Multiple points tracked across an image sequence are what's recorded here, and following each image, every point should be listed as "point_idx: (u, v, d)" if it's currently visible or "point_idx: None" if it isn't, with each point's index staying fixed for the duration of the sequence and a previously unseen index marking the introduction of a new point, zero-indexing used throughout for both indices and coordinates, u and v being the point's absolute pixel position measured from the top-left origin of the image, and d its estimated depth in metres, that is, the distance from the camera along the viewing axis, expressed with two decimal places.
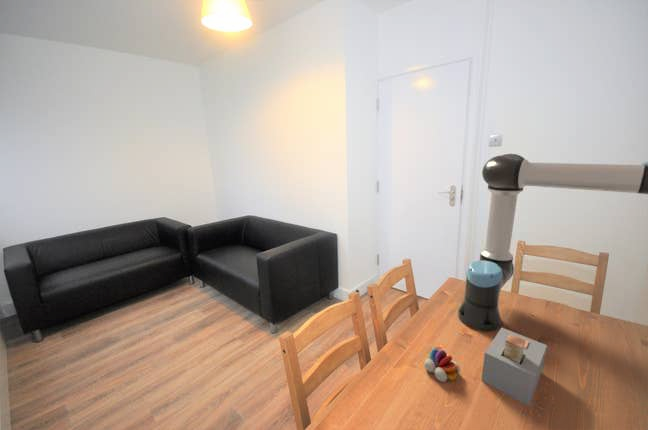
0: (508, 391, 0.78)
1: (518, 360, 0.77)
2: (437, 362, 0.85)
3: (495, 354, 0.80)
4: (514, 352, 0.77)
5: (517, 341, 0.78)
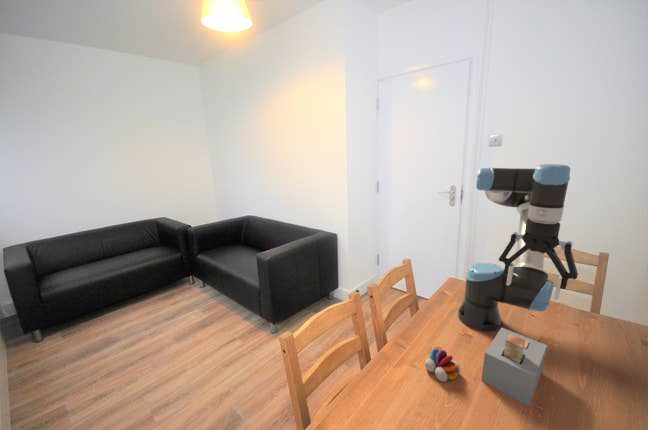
0: (508, 391, 0.78)
1: (518, 360, 0.77)
2: (437, 362, 0.85)
3: (495, 354, 0.80)
4: (514, 352, 0.77)
5: (517, 341, 0.78)
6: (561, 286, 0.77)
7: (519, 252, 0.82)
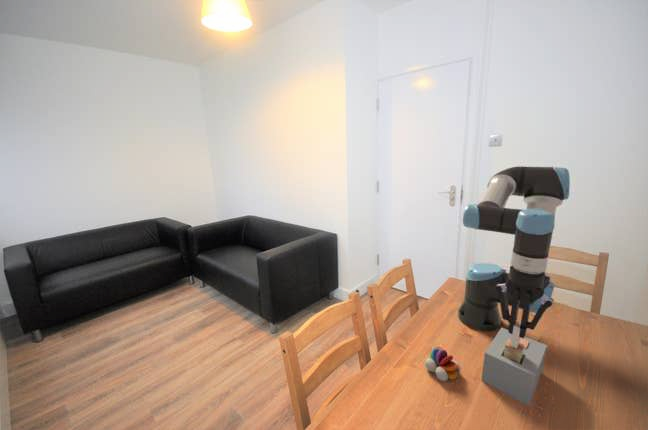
0: (508, 391, 0.78)
1: None
2: (438, 361, 0.86)
3: (495, 354, 0.80)
4: (513, 357, 0.78)
5: None
6: (520, 335, 0.76)
7: (513, 306, 0.76)
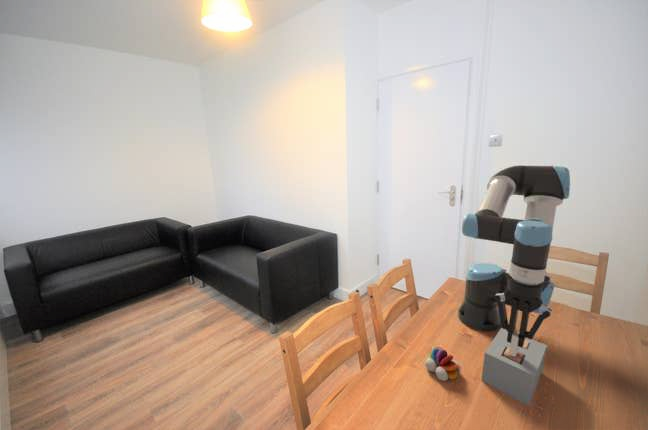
0: (508, 391, 0.78)
1: None
2: (438, 361, 0.86)
3: (495, 354, 0.80)
4: None
5: None
6: (518, 344, 0.77)
7: (512, 316, 0.77)
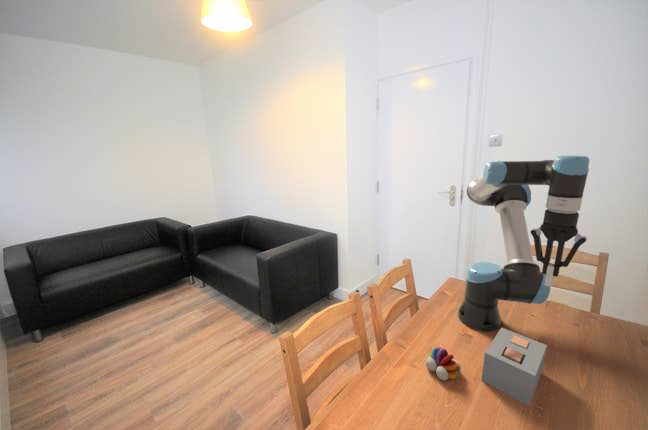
0: (508, 391, 0.78)
1: None
2: (438, 361, 0.86)
3: (495, 354, 0.80)
4: None
5: (515, 354, 0.79)
6: (554, 274, 0.83)
7: (548, 247, 0.83)
